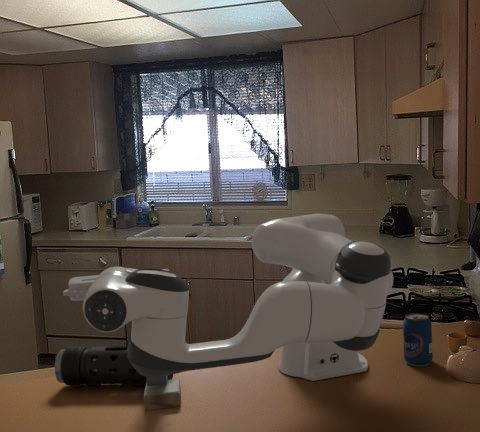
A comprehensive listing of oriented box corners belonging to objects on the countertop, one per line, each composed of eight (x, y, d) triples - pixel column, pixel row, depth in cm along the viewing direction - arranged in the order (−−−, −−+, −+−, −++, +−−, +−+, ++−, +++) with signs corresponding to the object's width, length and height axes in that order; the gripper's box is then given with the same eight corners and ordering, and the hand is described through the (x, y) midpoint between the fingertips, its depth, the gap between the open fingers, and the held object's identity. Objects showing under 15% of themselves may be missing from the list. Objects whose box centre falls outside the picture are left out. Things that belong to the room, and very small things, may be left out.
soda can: (399, 364, 146) (397, 317, 145) (411, 355, 152) (409, 311, 150) (426, 369, 142) (424, 321, 141) (437, 360, 147) (435, 314, 146)
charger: (167, 373, 139) (163, 327, 136) (166, 384, 134) (162, 337, 131) (148, 374, 138) (143, 328, 135) (147, 386, 133) (142, 339, 130)
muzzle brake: (167, 393, 138) (163, 351, 137) (55, 395, 141) (51, 354, 140) (176, 378, 147) (173, 338, 146) (71, 380, 151) (67, 341, 150)
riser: (180, 392, 138) (179, 378, 137) (180, 406, 130) (179, 391, 129) (146, 395, 137) (145, 381, 137) (144, 410, 129) (143, 395, 129)
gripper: (62, 312, 110) (75, 295, 123) (170, 301, 112) (172, 287, 125) (59, 279, 109) (72, 266, 123) (168, 269, 111) (169, 258, 125)
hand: (123, 276), depth 124 cm, fingers open, 8 cm apart
